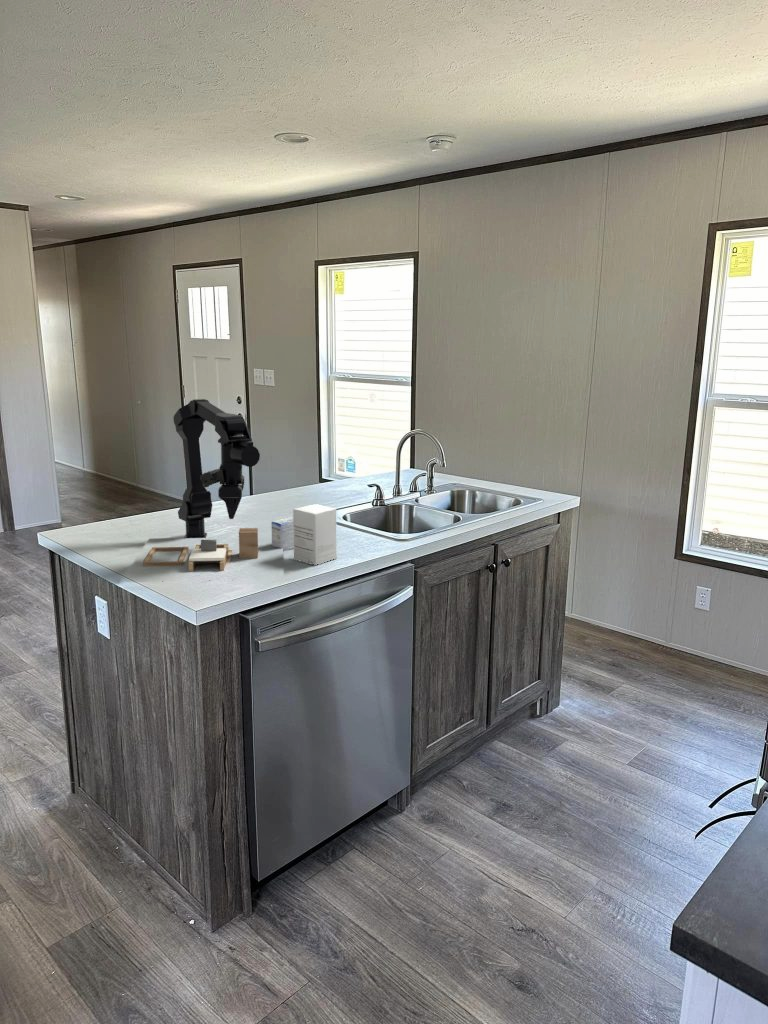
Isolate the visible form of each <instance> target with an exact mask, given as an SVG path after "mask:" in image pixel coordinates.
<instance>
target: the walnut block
mask: <svg viewBox="0 0 768 1024" xmlns="http://www.w3.org/2000/svg"><path fill="white" fill-rule="evenodd" d="M238 549H239V550H238V551H239V553H238V554H239V556H238V557H239V558H238V559H240V560H241V559H258V558H259V528H258V527H239V529H238Z"/></svg>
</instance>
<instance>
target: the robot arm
mask: <svg viewBox="0 0 768 1024" xmlns="http://www.w3.org/2000/svg"><path fill="white" fill-rule="evenodd" d="M172 418H173V424H174V427H175V431H176V433H177V434H178V436H179V437H180V438H181V439H182V447H183V457H184V458H183V459H184V467H185V476H186V477H185V479H186V485H187V486H186V489H185V491H184V492H183V494H182V504H181V505H180V507H179V509H178V511H177V515H178V519H179V520H182V521H184V522H185V535H184V537H183V539H206V538H207V536H208V533H207V532H206V531H205V519H208V518H209V519H210V518H211V516H212V510H213V502H212V496H211V495H212V493H211V491H209V490H208V489H207V488H209V486H213V485H214V484H217V483H219V485H221V486H219V488H218V489H217V490H218V491H217V492H218V493H217V494H218V498H219V499H220V500H222V501H223V502H224V503H225V507H226V510H227V514H228V518H229V520H233V519H234V518H235V515H236V513H237V511H238V508H239V506H240V503H241V500H242V497H243V491H244V488H245V476H244V475H243V466H244V467H248V468H253V467H255V466H256V465H257V464H258V463H259V462H260V458H261V456H260V455H261V453H260V451H259V449H258V448H257V447H256V446H254V441H253V439H252V433H251V432H250V430H249V427H248V424H247V422H246V420H245V419H244V417H243V416H242V415H240V414H235V413H227V412H226V411H223V410H222V409H220V408H219V407H217V406H215V405H214V404H212V403H211V402H210V401H209V400H208V399H205V398H201V399H200V398H198V399H197V398H196V399H192V400H190V401H189V402H188V404H185V405H184V406H182V407H180V408H178V410H176V412H175V413H174V414H173V417H172ZM205 422H208V423H210V424H211V425H212V426H214V431H215V433H217V435H218V436H219V438H218V440H217V444H218V443H219V444H220V458H221V461H220V462H221V464H220V465H219V468H215V469H213V470H209V471H208V472H204V473H203V465H202V455H201V446H200V438H201V435H202V434H203V432H204V430H205V429H204V423H205Z"/></svg>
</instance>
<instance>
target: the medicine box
mask: <svg viewBox="0 0 768 1024" xmlns="http://www.w3.org/2000/svg"><path fill="white" fill-rule="evenodd" d="M271 546H272V547H276V548H279V549H282V552H286V551H289V550H294V533H293V516H290V517H285V518H282V519H277V520H273V521H271Z"/></svg>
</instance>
